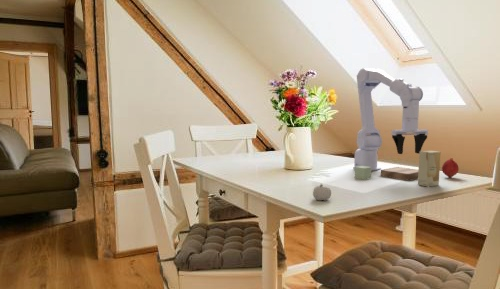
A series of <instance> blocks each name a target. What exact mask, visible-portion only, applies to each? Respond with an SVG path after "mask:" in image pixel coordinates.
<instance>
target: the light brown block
mask: <svg viewBox="0 0 500 289" xmlns="http://www.w3.org/2000/svg"><path fill="white" fill-rule="evenodd" d="M418 170H419V169H416V168H408V167H401V166H394V167H390V168H384V169H380V177H385V178H391V179H397V180H402V181H411V180H416V179H417V180H418Z"/></svg>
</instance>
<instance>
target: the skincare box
mask: <svg viewBox="0 0 500 289" xmlns="http://www.w3.org/2000/svg"><path fill="white" fill-rule="evenodd" d="M441 154H442V153H441V151H438V150H421V151H420V152H419V154H418V169H417V170H418V178H417V185H419V186H423V187H427V188H429V187H435V186H439V185H440V184H439V183H440V168H441V166H440V165H441Z"/></svg>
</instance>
